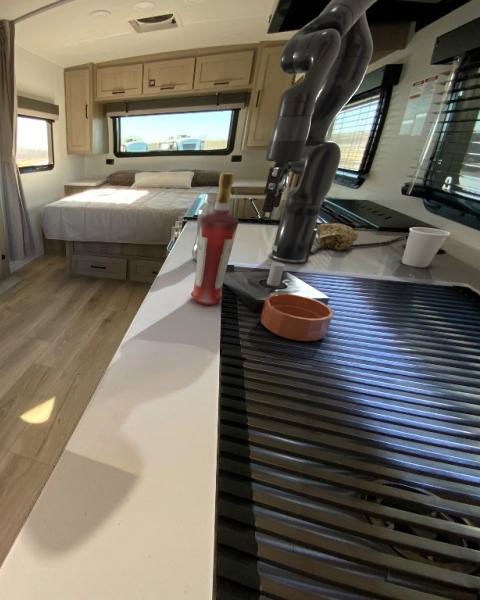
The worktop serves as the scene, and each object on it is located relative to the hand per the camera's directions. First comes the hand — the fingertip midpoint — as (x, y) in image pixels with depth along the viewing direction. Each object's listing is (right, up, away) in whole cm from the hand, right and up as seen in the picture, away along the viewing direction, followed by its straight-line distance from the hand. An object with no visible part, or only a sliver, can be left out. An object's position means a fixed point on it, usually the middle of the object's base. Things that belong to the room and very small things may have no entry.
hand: (270, 209), depth 84 cm
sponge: (+41, -3, +33) cm, 53 cm away
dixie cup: (+50, -13, +13) cm, 54 cm away
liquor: (-19, -24, -7) cm, 31 cm away
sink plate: (-3, -22, -5) cm, 23 cm away
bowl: (-7, -29, -18) cm, 35 cm away
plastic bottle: (-11, -11, +18) cm, 24 cm away
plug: (-3, -22, -5) cm, 23 cm away
